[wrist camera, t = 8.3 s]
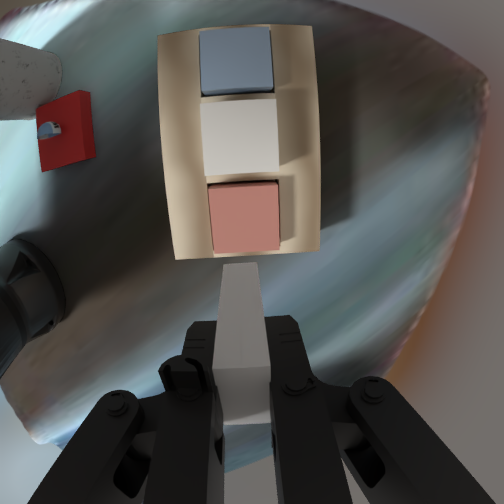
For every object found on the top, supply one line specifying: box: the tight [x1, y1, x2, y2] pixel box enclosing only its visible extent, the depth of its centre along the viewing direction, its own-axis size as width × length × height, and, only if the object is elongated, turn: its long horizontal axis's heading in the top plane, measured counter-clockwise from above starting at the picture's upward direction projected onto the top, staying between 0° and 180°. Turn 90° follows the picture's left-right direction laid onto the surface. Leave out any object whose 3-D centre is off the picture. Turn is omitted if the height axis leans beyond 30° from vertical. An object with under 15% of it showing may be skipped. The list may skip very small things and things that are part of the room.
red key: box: [208, 180, 280, 254], centre depth 26 cm, size 6×6×3 cm
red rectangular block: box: [36, 90, 96, 172], centre depth 24 cm, size 8×7×6 cm
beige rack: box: [158, 24, 321, 260], centre depth 26 cm, size 14×22×5 cm, turn 3°
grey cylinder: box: [0, 39, 62, 121], centre depth 18 cm, size 10×10×12 cm
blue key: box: [199, 27, 273, 97], centre depth 21 cm, size 6×6×3 cm
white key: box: [200, 99, 279, 176], centre depth 22 cm, size 6×6×3 cm
